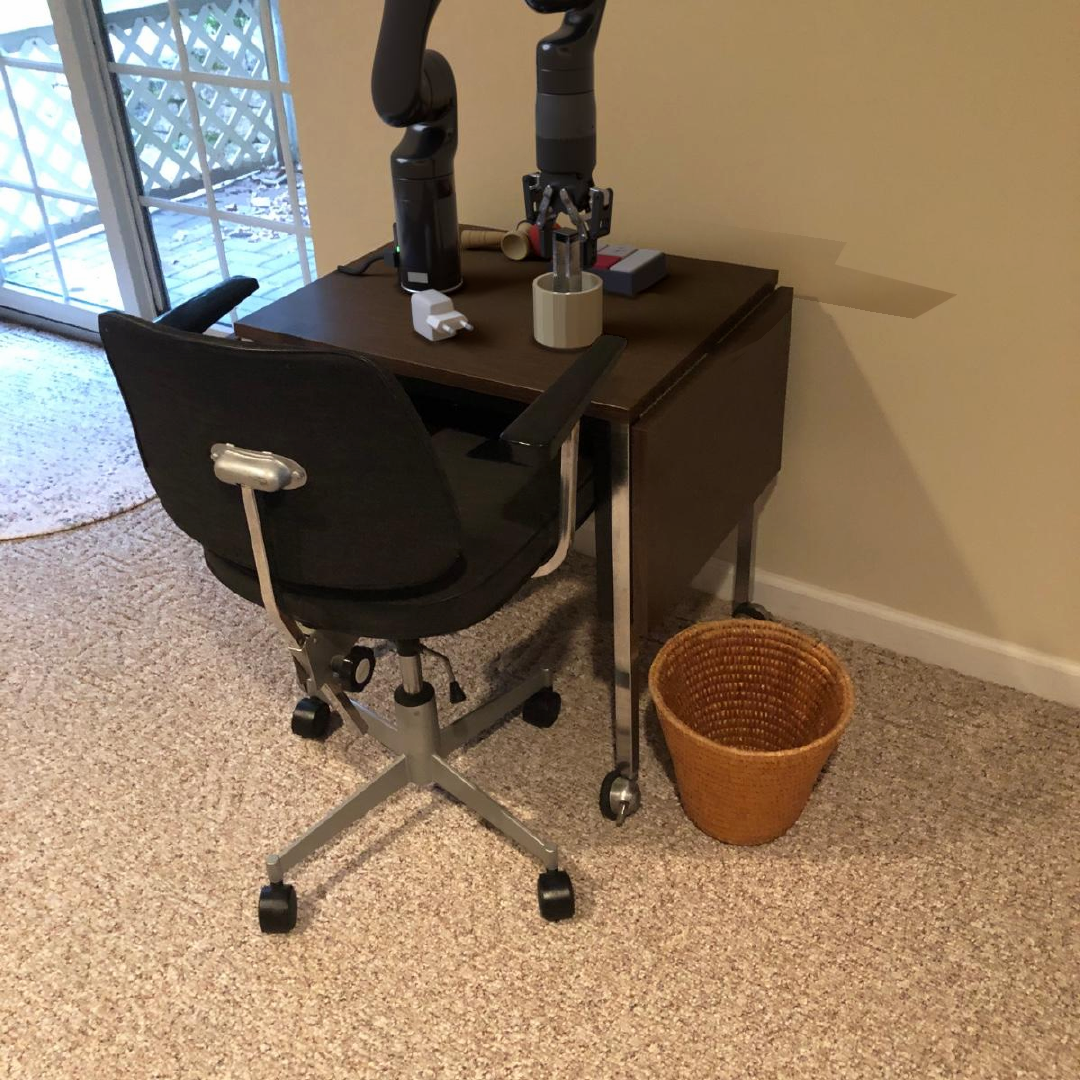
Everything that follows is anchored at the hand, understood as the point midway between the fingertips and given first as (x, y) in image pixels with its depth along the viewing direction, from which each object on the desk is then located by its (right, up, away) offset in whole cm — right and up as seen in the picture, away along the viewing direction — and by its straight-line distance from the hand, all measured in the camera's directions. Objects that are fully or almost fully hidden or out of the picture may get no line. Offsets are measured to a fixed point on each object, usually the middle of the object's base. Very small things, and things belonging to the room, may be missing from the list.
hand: (567, 261), depth 140 cm
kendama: (-8, +11, +37) cm, 39 cm away
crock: (0, -9, +6) cm, 11 cm away
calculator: (+7, +4, +25) cm, 27 cm away
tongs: (0, -8, +6) cm, 10 cm away
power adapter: (-17, -9, +6) cm, 20 cm away
